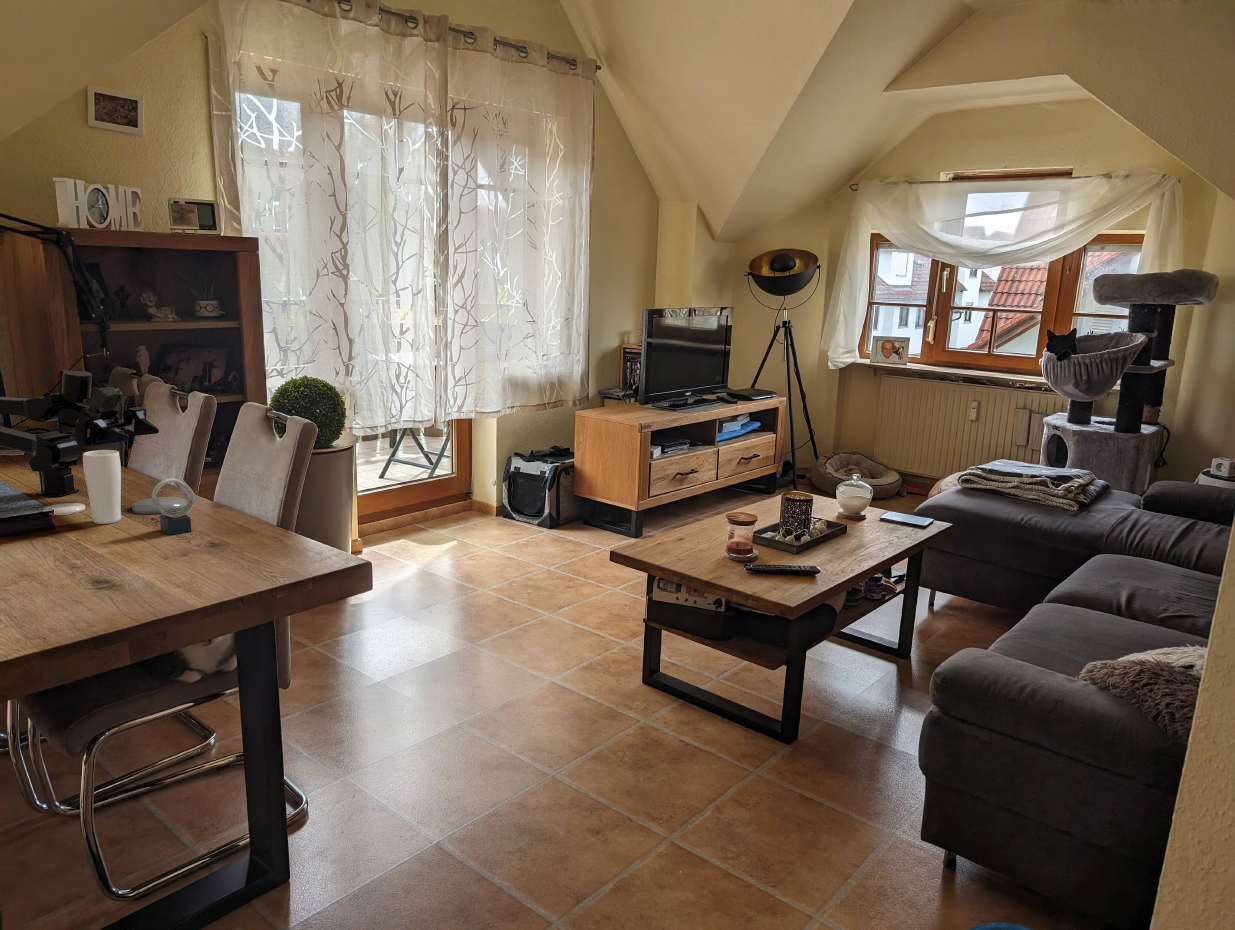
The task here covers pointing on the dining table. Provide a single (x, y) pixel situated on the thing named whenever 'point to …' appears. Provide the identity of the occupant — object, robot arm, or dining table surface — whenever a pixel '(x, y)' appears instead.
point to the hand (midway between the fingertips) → (143, 434)
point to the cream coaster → (67, 508)
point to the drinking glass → (103, 485)
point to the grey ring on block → (179, 520)
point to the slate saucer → (166, 502)
